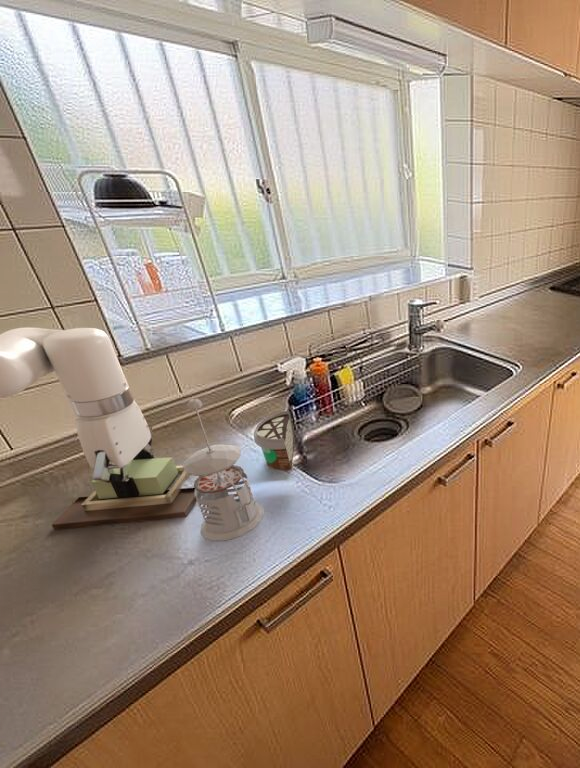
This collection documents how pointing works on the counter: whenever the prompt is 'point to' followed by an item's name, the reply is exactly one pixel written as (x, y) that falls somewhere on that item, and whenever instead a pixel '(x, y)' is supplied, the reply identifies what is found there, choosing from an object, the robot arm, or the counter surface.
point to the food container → (276, 440)
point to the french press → (222, 489)
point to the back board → (129, 507)
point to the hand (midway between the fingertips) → (139, 483)
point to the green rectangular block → (143, 477)
